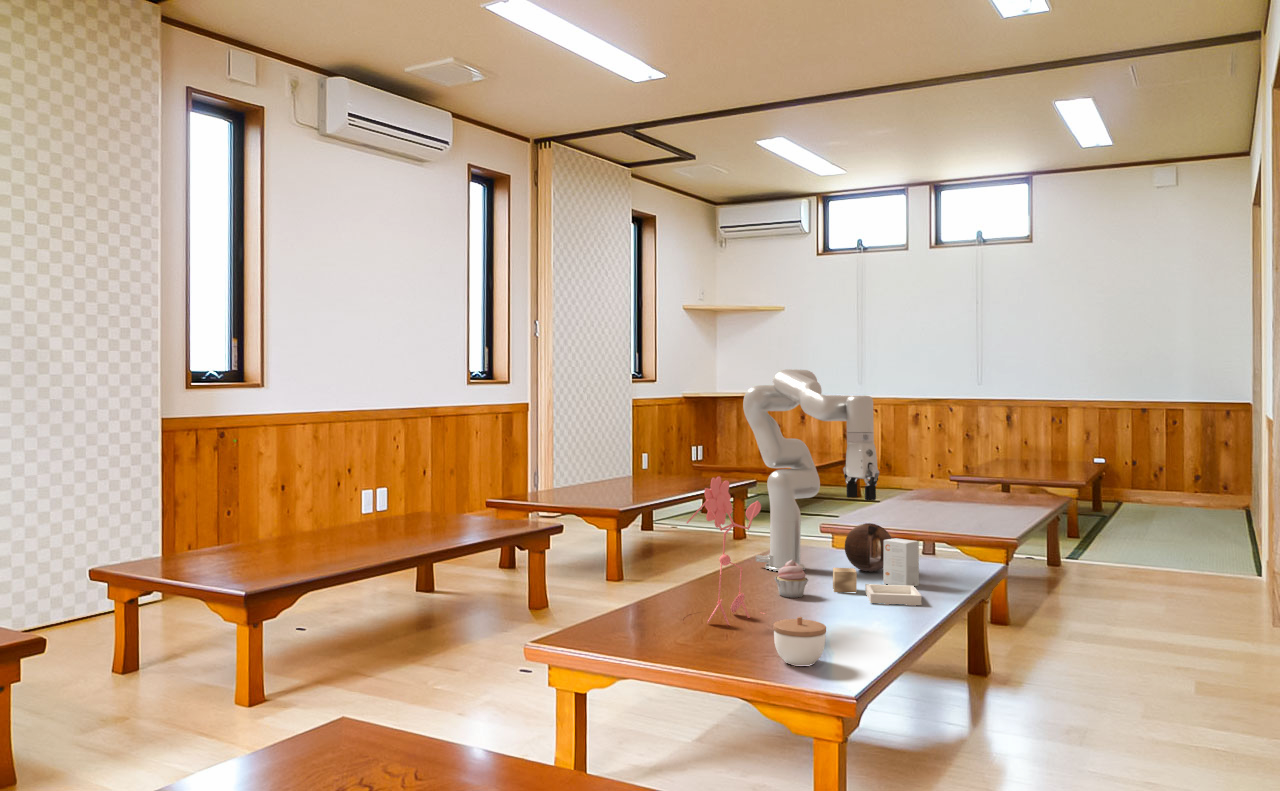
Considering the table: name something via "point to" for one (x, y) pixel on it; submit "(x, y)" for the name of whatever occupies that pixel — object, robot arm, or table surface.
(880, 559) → the wooden sphere
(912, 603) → the tray
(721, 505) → the figurine
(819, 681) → the table surface
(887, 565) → the small box
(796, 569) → the cupcake
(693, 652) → the table surface
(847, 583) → the cube
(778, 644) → the lidded jar
